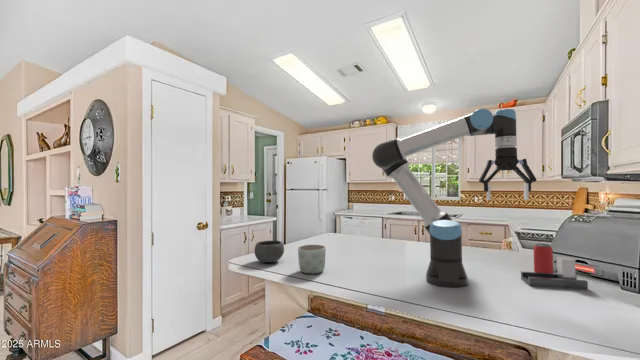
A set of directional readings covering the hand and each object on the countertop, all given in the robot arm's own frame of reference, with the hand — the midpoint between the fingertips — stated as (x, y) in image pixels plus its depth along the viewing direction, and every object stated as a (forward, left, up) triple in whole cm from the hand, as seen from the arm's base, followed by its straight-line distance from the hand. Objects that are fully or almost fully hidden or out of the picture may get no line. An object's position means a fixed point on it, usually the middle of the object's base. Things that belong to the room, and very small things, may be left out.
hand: (507, 199), depth 122 cm
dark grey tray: (+13, -5, -32) cm, 35 cm away
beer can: (+16, +10, -32) cm, 37 cm away
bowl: (-107, +2, -32) cm, 112 cm away
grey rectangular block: (+18, -5, -32) cm, 37 cm away
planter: (-81, -9, -32) cm, 88 cm away
